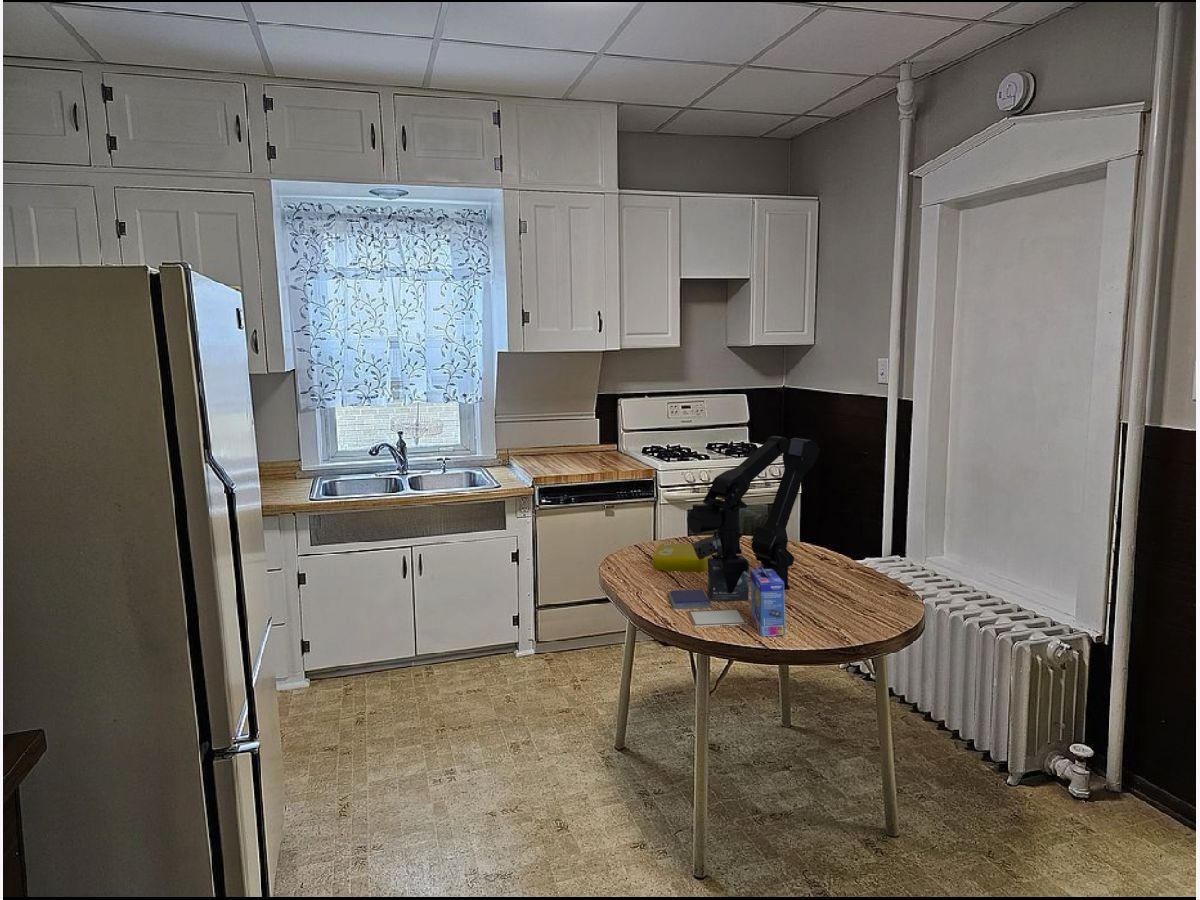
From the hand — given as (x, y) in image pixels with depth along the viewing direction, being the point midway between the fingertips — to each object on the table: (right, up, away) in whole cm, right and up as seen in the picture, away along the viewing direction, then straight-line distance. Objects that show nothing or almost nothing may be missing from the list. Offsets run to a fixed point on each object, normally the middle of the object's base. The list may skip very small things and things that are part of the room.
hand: (727, 588), depth 186 cm
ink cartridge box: (+5, -5, -20) cm, 21 cm away
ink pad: (-10, -3, -2) cm, 10 cm away
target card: (-5, -4, -13) cm, 15 cm away
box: (0, -2, 0) cm, 2 cm away
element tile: (-8, +1, +29) cm, 30 cm away
